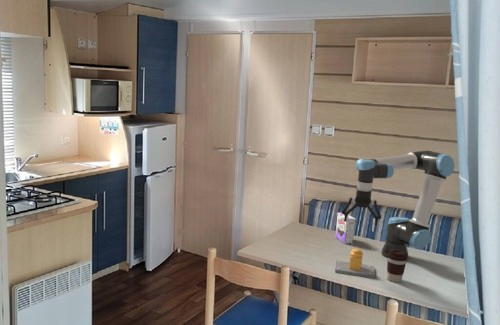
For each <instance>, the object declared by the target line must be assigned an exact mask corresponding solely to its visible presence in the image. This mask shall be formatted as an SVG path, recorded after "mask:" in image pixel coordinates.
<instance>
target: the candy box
mask: <svg viewBox="0 0 500 325" xmlns="http://www.w3.org/2000/svg"><path fill="white" fill-rule="evenodd" d="M336 214H337V216H336V224H335V232H334V237H335V238H336V239H337V240H339V241H340V242H341V243H343V244H344V245H353V242H354V234H355V228H356V218H355V217H353V216H351V214H348V225H347V228H346V222H345V221H344V218H345V215H344V214H342V212H337V213H336Z"/></svg>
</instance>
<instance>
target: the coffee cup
mask: <svg viewBox="0 0 500 325" xmlns="http://www.w3.org/2000/svg"><path fill="white" fill-rule="evenodd" d="M387 257H388V258H387ZM387 257H386V258H387V264H386V271H387V272H386V273H387V274H386V278H387V279H386V280H388V281H389V282H392V283H402V281H403V275H404V274H405V268H406V262H407V261H408V259H409V255H408V256H407V255H405V253H404V252H403V251H400V250H392V251H391V252H388V253H387Z"/></svg>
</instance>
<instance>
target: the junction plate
mask: <svg viewBox="0 0 500 325" xmlns="http://www.w3.org/2000/svg"><path fill="white" fill-rule="evenodd" d="M349 263H350V261H344V260H343V261H342V260H336V261H335V268H334V270H335V272H334V273H338V274H345V275H351V276H356V275H358V276H357V277H365V278H369V277H370V278H369V279H375V276H376V274H375V266H374V265H371V264H370V265H369V264H363V263H362V265H361V271H360V270H353V269H349Z"/></svg>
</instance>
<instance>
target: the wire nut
mask: <svg viewBox="0 0 500 325" xmlns="http://www.w3.org/2000/svg"><path fill="white" fill-rule="evenodd" d="M349 253H350V256H349V262H350V263H349V269H353V270H360V271H361V265H362V264H363V256H364V253H363V252H362V250H361V249H359V248H352V250H350V252H349Z"/></svg>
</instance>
